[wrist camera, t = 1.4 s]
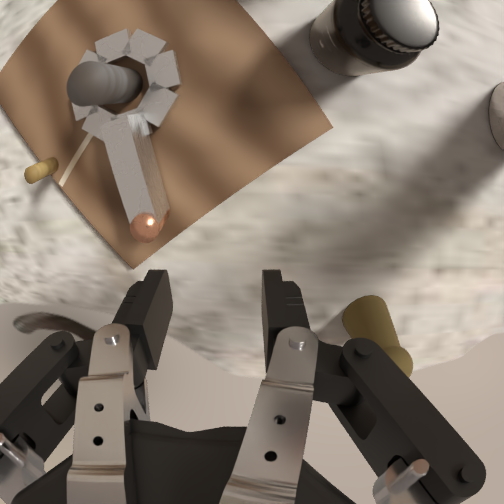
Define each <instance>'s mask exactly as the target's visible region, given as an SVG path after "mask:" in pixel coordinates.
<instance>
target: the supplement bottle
mask: <svg viewBox="0 0 504 504" xmlns="http://www.w3.org/2000/svg"><path fill="white" fill-rule="evenodd" d="M438 31H439V21H438V15H437V14H436V11H435V9H434V7H433V6H432V3H431V2H430V1H429V0H333V1H332V2H331V3H330V4H329V5H328V6H327V7H326V9H325V10H324V11H323V12H322V13H321V14H320V15H319V16H318V17H317V18H316V20H315V21H314V23H313V24H312V27H311V29H310V36H309V38H310V45H311V48H312V51H313V53H314V55H315V56H316V58H317V59H318V60H319V61H320V62H321V63H322V64H323V65H324V66H325V67H326V68H328V69H329V70H331V71H333V72H335V73H338V74H341V75H345V76H358V75H365V74H371V73H378V72H385V71H392V70H398V69H402V68H404V67H407V66H408V65H410V64H411V63H413V62H414V61H415V60H416V59H417V57H418V56H419V55H420V53H421V51H422V50H424V49H427V48H429V47H430V46H431V45H433V43H434V41H436V39H437V36H438V35H439V33H438Z"/></svg>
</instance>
